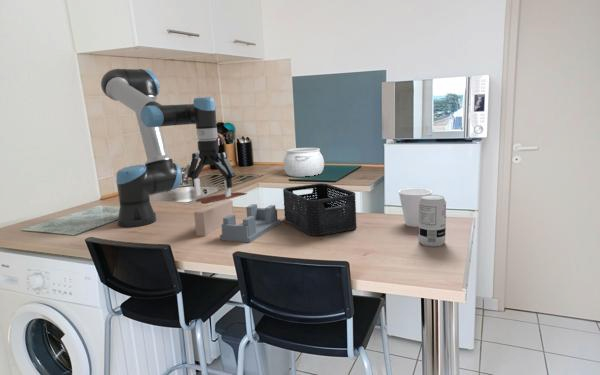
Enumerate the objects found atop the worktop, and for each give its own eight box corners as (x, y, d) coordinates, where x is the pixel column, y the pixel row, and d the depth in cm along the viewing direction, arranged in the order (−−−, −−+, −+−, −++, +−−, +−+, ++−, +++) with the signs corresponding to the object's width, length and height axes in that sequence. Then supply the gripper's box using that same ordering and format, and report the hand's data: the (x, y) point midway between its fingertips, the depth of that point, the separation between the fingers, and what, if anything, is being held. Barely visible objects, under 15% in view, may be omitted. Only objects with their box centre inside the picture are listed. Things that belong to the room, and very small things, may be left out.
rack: (220, 239, 150) (218, 219, 149) (253, 221, 172) (251, 203, 170) (250, 242, 145) (248, 221, 144) (280, 223, 167) (279, 204, 166)
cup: (409, 218, 166) (409, 186, 163) (437, 223, 157) (438, 190, 155) (392, 225, 158) (392, 192, 155) (421, 230, 149) (421, 196, 147)
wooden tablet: (205, 205, 207) (205, 201, 207) (195, 202, 214) (194, 199, 214) (249, 195, 225) (249, 192, 224) (238, 192, 232) (238, 189, 232)
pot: (325, 177, 264) (324, 150, 261) (282, 179, 265) (281, 152, 262) (323, 170, 292) (322, 146, 289) (285, 171, 293) (283, 148, 290)
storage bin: (282, 219, 173) (280, 187, 170) (324, 212, 180) (323, 181, 178) (312, 238, 147) (310, 200, 144) (360, 229, 154) (359, 193, 152)
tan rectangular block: (196, 235, 156) (194, 212, 155) (225, 221, 174) (223, 199, 173) (205, 236, 155) (203, 212, 153) (234, 221, 173) (232, 200, 171)
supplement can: (414, 239, 140) (415, 195, 137) (439, 238, 141) (439, 193, 138) (423, 248, 132) (424, 201, 129) (449, 246, 133) (450, 199, 130)
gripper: (174, 141, 159) (180, 196, 163) (231, 140, 150) (236, 199, 154) (186, 139, 166) (192, 192, 170) (242, 138, 157) (246, 194, 161)
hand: (213, 195), depth 162 cm, fingers open, 13 cm apart
